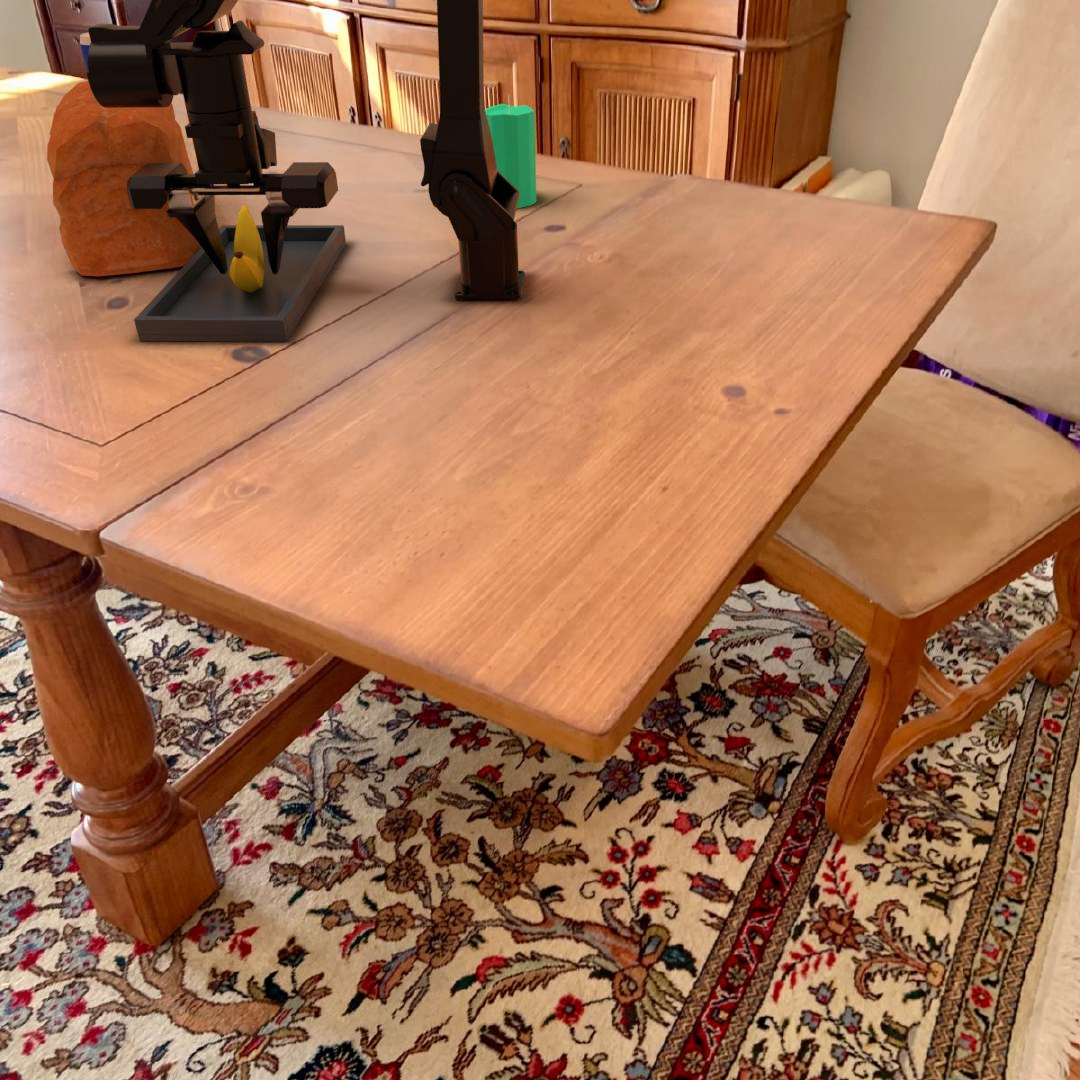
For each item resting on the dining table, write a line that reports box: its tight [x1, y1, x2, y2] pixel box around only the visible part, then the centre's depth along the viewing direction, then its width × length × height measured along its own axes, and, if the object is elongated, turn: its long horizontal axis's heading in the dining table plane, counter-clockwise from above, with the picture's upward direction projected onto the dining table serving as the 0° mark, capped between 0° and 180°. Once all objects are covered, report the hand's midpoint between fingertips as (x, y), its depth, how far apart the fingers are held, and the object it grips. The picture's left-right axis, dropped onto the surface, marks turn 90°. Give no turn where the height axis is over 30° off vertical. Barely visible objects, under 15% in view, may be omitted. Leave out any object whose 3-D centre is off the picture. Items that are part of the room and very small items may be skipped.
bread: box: [46, 80, 201, 277], centre depth 112 cm, size 14×27×15 cm, turn 18°
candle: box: [485, 94, 537, 209], centre depth 121 cm, size 6×6×12 cm
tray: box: [133, 224, 347, 343], centre depth 102 cm, size 26×14×2 cm, turn 177°
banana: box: [230, 204, 264, 293], centre depth 100 cm, size 3×19×6 cm, turn 12°
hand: (250, 272), depth 102 cm, fingers open, 5 cm apart
